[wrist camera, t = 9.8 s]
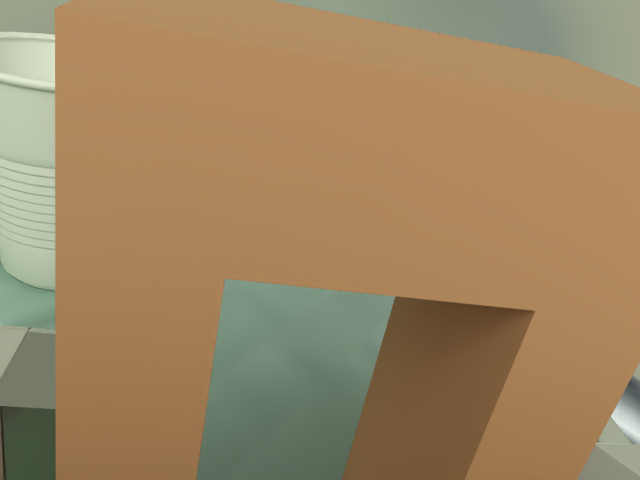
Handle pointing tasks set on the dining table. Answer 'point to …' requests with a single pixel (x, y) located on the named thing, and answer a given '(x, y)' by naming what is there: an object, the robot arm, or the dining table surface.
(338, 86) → the clip
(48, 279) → the cup
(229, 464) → the dining table surface
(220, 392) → the dining table surface
